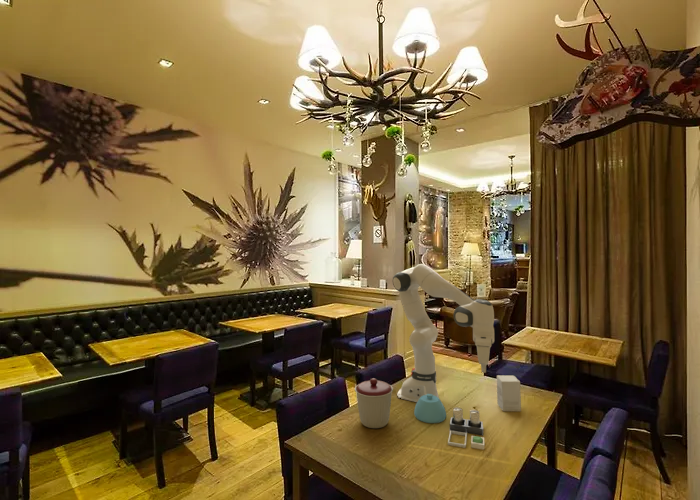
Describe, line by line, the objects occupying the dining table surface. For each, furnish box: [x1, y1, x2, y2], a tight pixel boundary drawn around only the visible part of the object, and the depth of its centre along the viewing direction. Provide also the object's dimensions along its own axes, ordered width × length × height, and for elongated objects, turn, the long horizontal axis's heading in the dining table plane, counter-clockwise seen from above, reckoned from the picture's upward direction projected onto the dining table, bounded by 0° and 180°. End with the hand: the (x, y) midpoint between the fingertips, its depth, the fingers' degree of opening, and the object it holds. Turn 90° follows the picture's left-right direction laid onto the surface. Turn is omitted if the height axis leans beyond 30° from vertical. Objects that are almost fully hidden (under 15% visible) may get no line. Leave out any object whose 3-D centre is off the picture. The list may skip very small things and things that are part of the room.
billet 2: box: [469, 409, 481, 428], centre depth 156 cm, size 4×4×8 cm
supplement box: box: [496, 374, 522, 412], centre depth 180 cm, size 9×9×15 cm
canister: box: [354, 377, 394, 429], centre depth 167 cm, size 18×18×21 cm
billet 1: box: [452, 406, 464, 425], centre depth 159 cm, size 4×4×8 cm
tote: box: [447, 429, 468, 449], centre depth 149 cm, size 7×10×2 cm
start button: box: [473, 435, 483, 444], centre depth 145 cm, size 3×3×3 cm
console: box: [470, 435, 485, 450], centre depth 145 cm, size 5×6×3 cm
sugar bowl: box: [413, 394, 447, 424], centre depth 170 cm, size 15×15×12 cm
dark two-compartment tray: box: [449, 416, 484, 437], centre depth 158 cm, size 14×8×4 cm, turn 69°
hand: (483, 368), depth 155 cm, fingers open, 8 cm apart
